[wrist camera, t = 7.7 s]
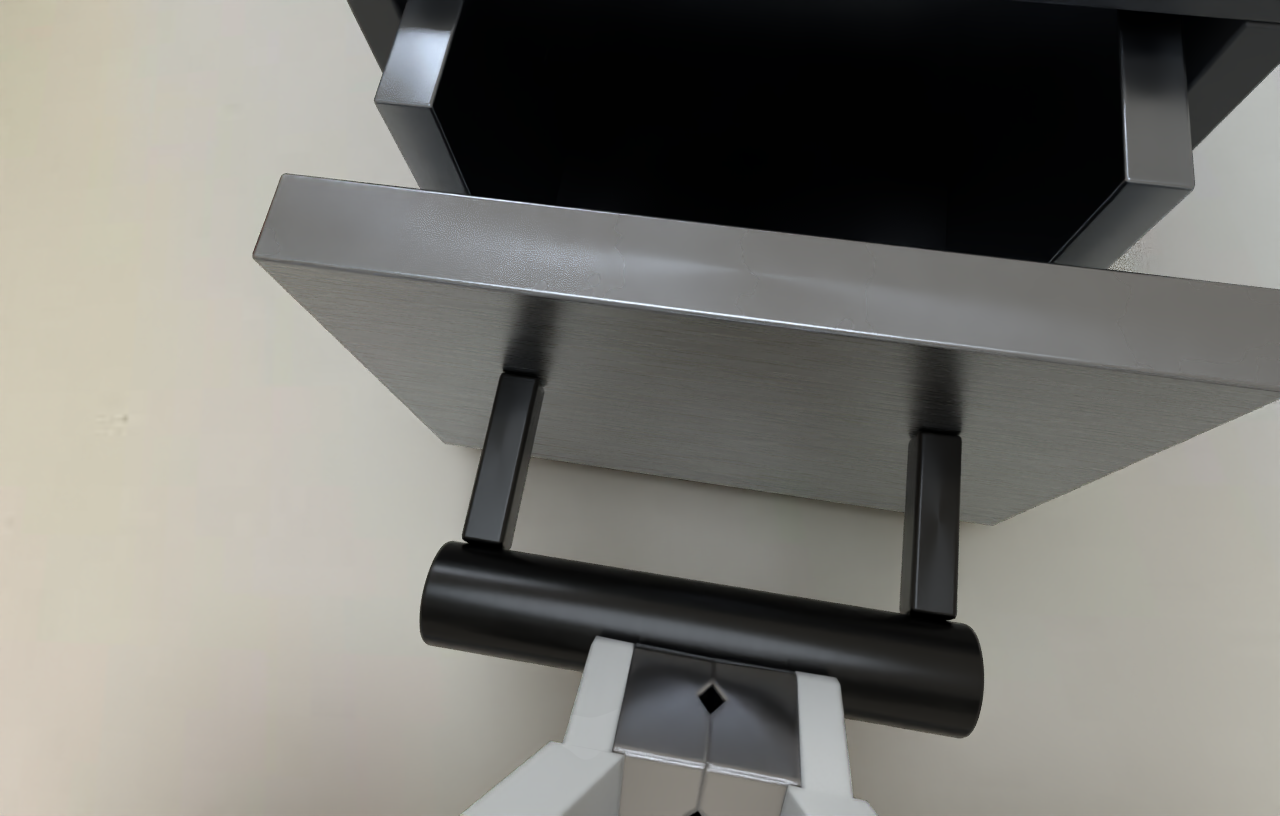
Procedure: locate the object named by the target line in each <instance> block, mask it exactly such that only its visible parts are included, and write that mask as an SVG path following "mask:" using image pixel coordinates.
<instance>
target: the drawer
mask: <svg viewBox="0 0 1280 816" xmlns="http://www.w3.org/2000/svg"><path fill="white" fill-rule="evenodd" d="M374 102H375V105H376V107H377V108H378V110H379V112H380V114H381V116H382V118H383V120H384V121H385V123H386V125H387V127H388V129H389V131H390V133H391V135H392V136H393V138H394V140H395V142H396V144H397V146H398V148H399V150H400V151H401V153H402V155H403V157H404V159H405V161H406V163H407V165H408V166H409V168H410V170H411V172H412V174H413V176H414V178H415V179H416V181H417V183H418V185H419V187H420V189H415V188H407V187H398V186H389V185H381V184H372V183H364V182H355V181H347V180H338V179H330V178H321V177H312V176H304V175H295V174H287V173H285V174H283V175H282V176H281V178H280V181H279V184H278V186H277V189H276V192H275V194H274V197H273V200H272V203H271V205H270V208H269V211H268V213H267V216H266V219H265V222H264V224H263V227H262V230H261V232H260V235H259V238H258V241H257V243H256V246H255V249H254V251H253V259H254V260H255V261H256V262H257V263H258V264H259V265H260V266H261V267H262V268H263V269H264V270H265V271H266V272H267V273H268V274H269V275H270V276H271V277H272V278H274V279H275V280H276V281H277V282H278V283H279V284H280V285H281V286H282V287H283V288H284V289H285V290H286V291H287V292H288V293H289V294H290V295H291V296H292V297H293V298H294V299H295V300H296V301H297V302H298V303H299V304H300V305H302V306H303V307H304V308H305V309H306V310H307V311H308V312H309V313H310V314H311V315H312V316H313V317H314V318H315V319H316V320H317V321H318V322H319V323H320V324H321V325H322V326H323V327H324V328H325V329H326V330H327V331H329V332H330V333H331V334H332V335H333V336H334V337H335V338H336V339H337V340H338V341H339V342H340V343H341V344H342V345H343V346H344V347H345V348H346V349H347V350H348V351H349V352H350V353H351V354H352V355H353V356H354V357H355V358H357V359H358V360H359V361H360V362H361V363H362V364H363V365H364V366H365V367H366V368H367V369H368V370H369V371H370V372H371V373H372V374H373V375H374V376H375V377H376V378H377V379H378V380H379V381H380V382H381V383H382V384H384V385H385V386H386V387H387V388H388V389H389V390H390V391H391V392H392V393H393V394H394V395H395V396H396V397H397V398H398V399H399V400H400V401H401V402H402V403H403V404H404V405H405V406H406V407H407V408H408V409H409V410H410V411H412V412H413V413H414V414H415V415H416V416H417V417H418V418H419V419H420V420H421V421H422V422H423V423H424V424H425V425H426V426H427V427H428V428H429V429H430V430H431V431H432V432H433V433H434V434H435V435H436V436H437V437H439V438H440V439H441V440H442V441H443V442H444V443H445V444H450V445H456V446H463V447H470V448H476V449H482V452H481V457H480V461H479V465H478V469H477V473H476V478H475V482H474V486H473V490H472V494H471V499H470V503H469V507H468V511H467V516H466V520H465V524H464V528H463V532H462V539H463V540H464V541H466V542H467V543H462V542H456V541H450V542H447V543H445V544H444V545H443V546H442V547H441V548H440V550H439V551H438V553H437V554H436V556H435V558H434V560H433V562H432V565H431V567H430V569H429V572H428V575H427V578H426V581H425V585H424V589H423V594H422V599H421V606H420V633H421V637H422V639H423V641H424V642H425V643H426V644H428V645H430V646H436V647H442V648H447V649H453V650H459V651H464V652H470V653H476V654H481V655H487V656H493V657H498V658H504V659H510V660H516V661H521V662H527V663H533V664H538V665H544V666H550V667H555V668H561V669H567V670H572V671H578V672H583V671H584V668H585V664H586V661H587V658H588V654H589V651H590V647H591V644H592V643H593V641H594V639H595V637H596V636H600V637H605V638H610V639H615V640H620V641H624V642H629V643H634V644H636V643H639V644H644V645H649V646H654V647H659V648H664V649H669V650H674V651H679V652H684V653H689V654H694V655H699V656H705V657H710V658H718V659H724V660H730V661H736V662H742V663H748V664H755V665H761V666H767V667H773V668H779V669H785V670H791V671H793V672H795V671H798V672H804V673H811V674H817V675H823V676H829V677H835V678H837V680H838V681H839V683H840V686H841V694H842V703H843V711H844V718H846V719H851V720H857V721H863V722H868V723H874V724H880V725H886V726H891V727H897V728H903V729H908V730H914V731H920V732H925V733H931V734H937V735H942V736H948V737H954V738H965V737H967V736H969V735H970V734H971V733H972V731H973V730H974V728H975V726H976V724H977V721H978V718H979V714H980V711H981V706H982V700H983V691H984V666H983V657H982V651H981V647H980V643H979V640H978V638H977V635H976V633H975V632H974V630H973V629H972V628H971V627H970V626H968V625H966V624H963V623H957V622H951V621H946V620H952V619H955V617H956V615H957V591H958V558H959V525H960V521H965V522H972V523H979V524H985V525H996V524H998V523H1000V522H1002V521H1005V520H1007V519H1009V518H1012V517H1014V516H1016V515H1018V514H1021V513H1023V512H1025V511H1027V510H1030V509H1032V508H1034V507H1036V506H1039V505H1041V504H1043V503H1045V502H1048V501H1050V500H1052V499H1055V498H1057V497H1059V496H1061V495H1064V494H1066V493H1068V492H1070V491H1073V490H1075V489H1077V488H1079V487H1082V486H1084V485H1086V484H1089V483H1091V482H1093V481H1095V480H1098V479H1100V478H1102V477H1104V476H1107V475H1109V474H1111V473H1113V472H1116V471H1118V470H1120V469H1122V468H1125V467H1127V466H1129V465H1132V464H1134V463H1136V462H1138V461H1141V460H1143V459H1145V458H1147V457H1150V456H1152V455H1154V454H1156V453H1159V452H1161V451H1163V450H1166V449H1168V448H1170V447H1172V446H1175V445H1177V444H1179V443H1181V442H1184V441H1186V440H1188V439H1190V438H1193V437H1195V436H1197V435H1199V434H1202V433H1204V432H1206V431H1209V430H1211V429H1213V428H1215V427H1218V426H1220V425H1222V424H1224V423H1227V422H1229V421H1231V420H1233V419H1236V418H1238V417H1240V416H1243V415H1245V414H1247V413H1249V412H1252V411H1254V410H1256V409H1258V408H1261V407H1263V406H1265V405H1267V404H1270V403H1272V402H1274V401H1276V400H1279V399H1280V290H1279V289H1271V288H1262V287H1254V286H1245V285H1237V284H1228V283H1220V282H1211V281H1202V280H1194V279H1185V278H1177V277H1168V276H1160V275H1151V274H1143V273H1134V272H1125V271H1117V270H1108V268H1109V267H1110V266H1111V265H1112V264H1113V263H1114V262H1115V261H1116V260H1118V259H1119V258H1120V257H1121V256H1122V255H1123V254H1124V253H1125V252H1126V251H1127V250H1128V249H1130V248H1131V247H1132V246H1133V245H1134V244H1135V243H1136V242H1137V241H1138V240H1139V239H1140V238H1141V237H1143V236H1144V235H1145V234H1146V233H1147V232H1148V231H1149V230H1150V229H1151V228H1152V227H1153V226H1155V225H1156V224H1157V223H1158V222H1159V221H1160V220H1161V219H1162V218H1163V217H1164V216H1165V215H1167V214H1168V213H1169V212H1170V211H1171V210H1172V209H1173V208H1174V207H1175V206H1176V205H1177V204H1178V203H1180V202H1181V201H1182V200H1183V199H1184V198H1185V197H1186V196H1187V195H1188V194H1189V193H1190V192H1192V191H1193V189H1194V186H1195V179H1194V166H1193V153H1192V141H1191V128H1190V116H1189V103H1188V90H1187V78H1186V65H1185V53H1184V40H1183V27H1182V15H1178V14H1167V13H1155V12H1143V11H1132V10H1120V9H1108V8H1097V7H1085V6H1074V5H1062V4H1050V3H1039V2H1027V1H1015V0H407V3H406V6H405V9H404V12H403V15H402V18H401V21H400V23H399V26H398V29H397V32H396V35H395V38H394V41H393V44H392V47H391V50H390V53H389V56H388V59H387V62H386V65H385V68H384V71H383V74H382V77H381V80H380V83H379V86H378V89H377V92H376V95H375V98H374ZM531 457H537V458H543V459H550V460H557V461H564V462H570V463H577V464H584V465H590V466H597V467H604V468H610V469H617V470H624V471H630V472H637V473H644V474H651V475H657V476H664V477H671V478H677V479H684V480H691V481H697V482H704V483H711V484H718V485H724V486H731V487H738V488H744V489H751V490H758V491H764V492H771V493H778V494H785V495H791V496H798V497H805V498H811V499H818V500H825V501H831V502H838V503H845V504H851V505H858V506H865V507H872V508H878V509H885V510H892V511H898V512H905V515H904V534H903V552H902V571H901V590H900V608H899V610H900V613H895V612H889V611H883V610H877V609H871V608H864V607H858V606H852V605H846V604H840V603H833V602H827V601H821V600H815V599H809V598H802V597H796V596H790V595H784V594H778V593H772V592H765V591H759V590H753V589H747V588H741V587H734V586H728V585H722V584H716V583H710V582H704V581H697V580H691V579H685V578H679V577H673V576H666V575H660V574H654V573H648V572H642V571H636V570H629V569H623V568H617V567H611V566H605V565H598V564H592V563H586V562H580V561H574V560H567V559H561V558H555V557H549V556H543V555H537V554H530V553H524V552H518V551H512V550H509V549H510V548H511V545H512V541H513V536H514V531H515V527H516V522H517V518H518V513H519V508H520V504H521V499H522V494H523V490H524V485H525V481H526V476H527V471H528V467H529V462H530V458H531Z"/></svg>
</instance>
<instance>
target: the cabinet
mask: <svg viewBox="0 0 1280 816" xmlns="http://www.w3.org/2000/svg"><path fill="white" fill-rule="evenodd" d="M1015 1H1027V2H1039V3H1050V4H1062V5H1074V6H1085V7H1097V8H1108V9H1120V10H1132V11H1143V12H1155V13H1167V14H1178V15H1182V27H1183V40H1184V53H1185V65H1186V78H1187V90H1188V103H1189V116H1190V128H1191V141H1192V150H1193V149H1194V148H1195V147H1196V146H1197V145H1198V144H1199V143H1200V142H1201V141H1202V140H1203V139H1204V138H1205V137H1206V136H1207V135H1208V134H1209V133H1210V132H1211V131H1212V130H1213V129H1214V128H1215V127H1216V126H1217V125H1218V124H1219V123H1220V122H1221V121H1222V120H1223V119H1224V118H1225V117H1226V116H1228V115H1229V114H1230V113H1231V112H1232V111H1233V110H1234V109H1235V108H1236V107H1237V106H1238V105H1239V104H1240V103H1241V102H1242V101H1243V100H1244V99H1245V98H1246V97H1247V96H1248V95H1249V94H1250V93H1251V92H1252V91H1253V90H1254V89H1255V88H1256V87H1257V86H1258V85H1259V84H1260V83H1261V82H1262V81H1263V80H1264V79H1265V78H1266V77H1267V76H1268V75H1269V74H1270V73H1271V72H1272V71H1273V70H1274V69H1275V68H1276V67H1277V66H1278V65H1279V64H1280V0H1015ZM347 2H348V4H349V6H350V8H351V10H352V12H353V14H354V16H355V18H356V20H357V22H358V24H359V26H360V28H361V30H362V32H363V34H364V36H365V38H366V40H367V42H368V44H369V46H370V48H371V50H372V52H373V54H374V56H375V59H376V61H377V63H378V65H379V67H380V69H381V71H382V73H383V71H384V68H385V65H386V62H387V59H388V56H389V53H390V50H391V47H392V44H393V41H394V38H395V35H396V32H397V29H398V26H399V23H400V21H401V18H402V15H403V12H404V9H405V6H406V3H407V0H347Z"/></svg>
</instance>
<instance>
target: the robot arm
mask: <svg viewBox="0 0 1280 816" xmlns="http://www.w3.org/2000/svg"><path fill="white" fill-rule="evenodd" d="M459 816H878V815H877V813H876V812H875V811H874V809H873V808H872V807H871V805H870V804H869V803H868V801H866V800H861V799H857V798H854V797H853V788H852V780H851V771H850V762H849V754H848V745H847V737H846V728H845V720H844V711H843V703H842V694H841V686H840V683H839V681H838V680H837V678H835V677H829V676H823V675H817V674H811V673H804V672H798V671H795V672H793V671H791V670H785V669H779V668H773V667H767V666H761V665H755V664H748V663H742V662H736V661H730V660H724V659H718V658H710V657H705V656H699V655H694V654H689V653H684V652H679V651H674V650H669V649H664V648H659V647H654V646H649V645H644V644H639V643H636V644H634V643H629V642H624V641H620V640H615V639H610V638H605V637H600V636H596V637H595V639H594V641H593V643H592V644H591V647H590V651H589V654H588V658H587V661H586V664H585V668H584V671H583V675H582V678H581V682H580V685H579V689H578V692H577V695H576V699H575V702H574V706H573V709H572V713H571V716H570V720H569V723H568V727H567V730H566V733H565V737H564V740H563V743H560V742H554V741H550V742H549V743H547V744H546V745H545V746H544V747H542V748H541V749H540V750H539V751H538V752H536V753H535V754H534V755H533V756H531V757H530V758H529V759H528V760H527V761H525V762H524V763H523V764H522V765H520V766H519V767H518V768H517V769H515V770H514V771H513V772H512V773H511V774H509V775H508V776H507V777H506V778H504V779H503V780H502V781H501V782H500V783H498V784H497V785H496V786H495V787H493V788H492V789H491V790H490V791H488V792H487V793H486V794H485V795H484V796H482V797H481V798H480V799H479V800H477V801H476V802H475V803H474V804H473V805H471V806H470V807H469V808H468V809H466V810H465V811H464V812H463V813H461V814H460V815H459Z"/></svg>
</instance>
